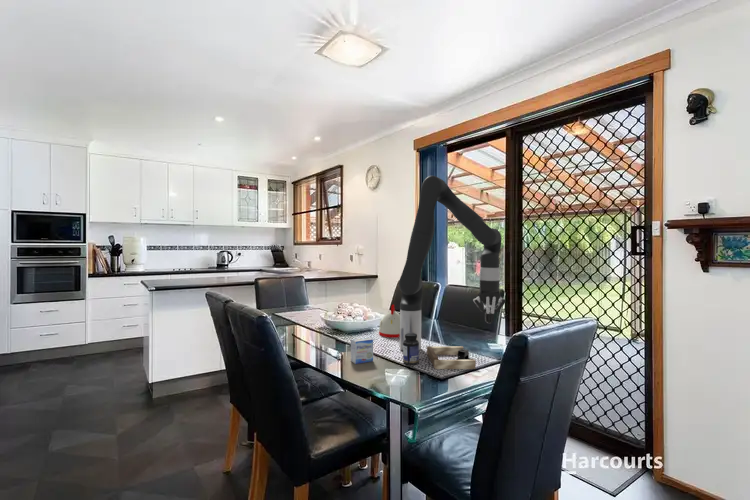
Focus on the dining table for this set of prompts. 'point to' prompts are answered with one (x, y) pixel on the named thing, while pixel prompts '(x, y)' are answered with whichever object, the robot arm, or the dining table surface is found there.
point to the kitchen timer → (390, 324)
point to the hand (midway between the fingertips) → (489, 322)
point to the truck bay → (448, 364)
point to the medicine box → (361, 350)
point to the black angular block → (463, 355)
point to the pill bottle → (411, 349)
